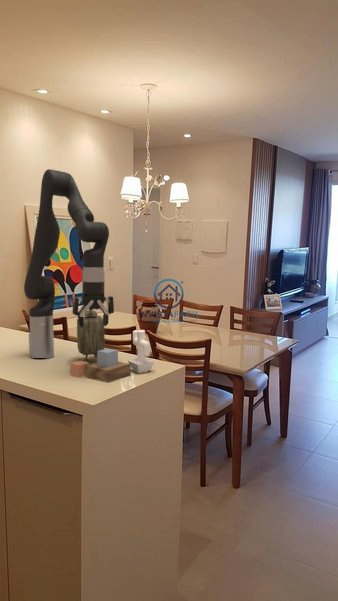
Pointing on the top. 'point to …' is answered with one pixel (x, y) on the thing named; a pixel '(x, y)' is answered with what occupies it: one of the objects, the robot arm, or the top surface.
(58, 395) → the top surface
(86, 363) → the terracotta block
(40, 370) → the top surface
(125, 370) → the plinth
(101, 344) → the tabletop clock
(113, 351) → the blue block
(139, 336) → the figurine
